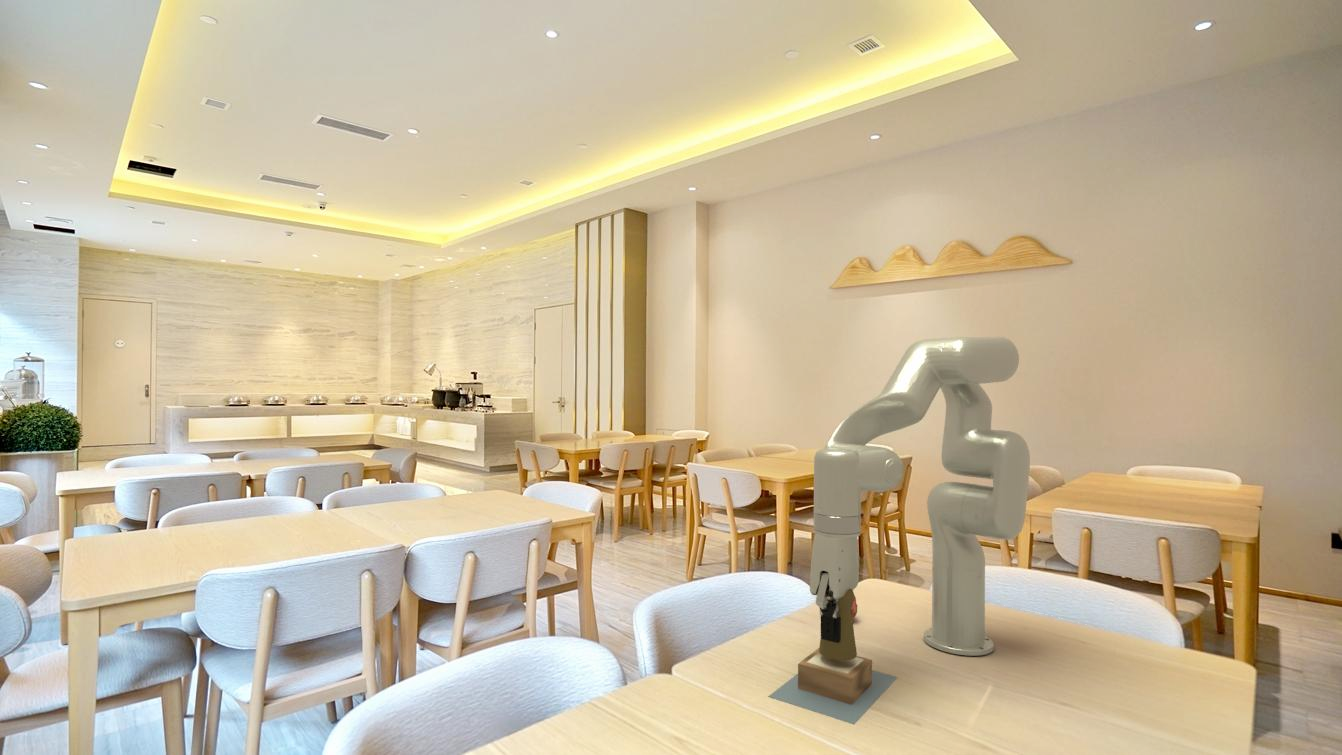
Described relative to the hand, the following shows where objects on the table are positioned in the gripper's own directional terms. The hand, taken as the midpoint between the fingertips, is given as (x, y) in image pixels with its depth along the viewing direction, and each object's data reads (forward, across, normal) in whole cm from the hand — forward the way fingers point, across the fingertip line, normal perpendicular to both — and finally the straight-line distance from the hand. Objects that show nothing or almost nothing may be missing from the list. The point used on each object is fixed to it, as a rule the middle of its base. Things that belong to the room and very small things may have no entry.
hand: (836, 634), depth 108 cm
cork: (+3, 0, 0) cm, 3 cm away
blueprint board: (+9, 0, 0) cm, 9 cm away
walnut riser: (+8, 0, 0) cm, 8 cm away
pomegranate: (+10, -34, -13) cm, 38 cm away
